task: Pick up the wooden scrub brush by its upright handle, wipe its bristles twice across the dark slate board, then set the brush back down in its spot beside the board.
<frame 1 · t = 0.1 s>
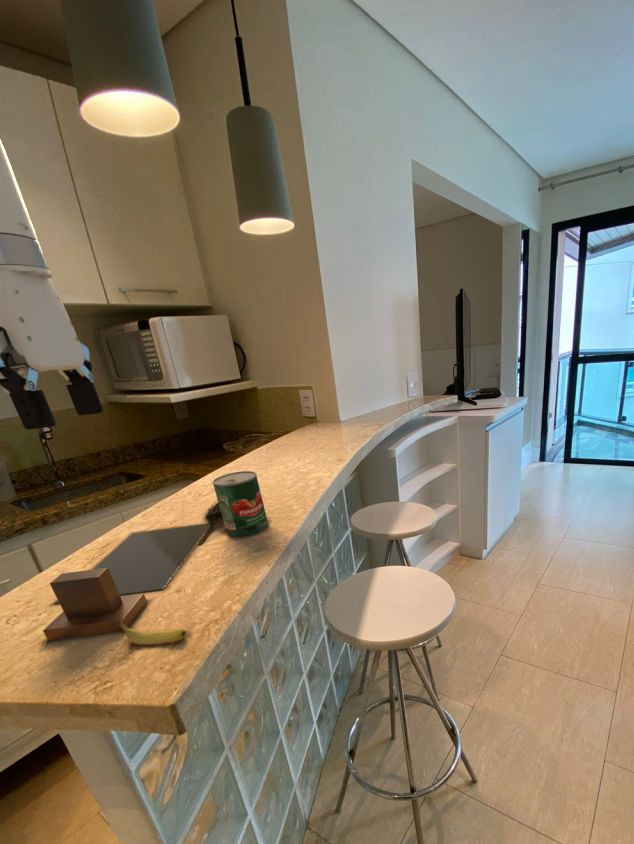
hand: (68, 420, 51), 26 cm above the counter, tool pointing down, fingers open, 9 cm apart
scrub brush: (102, 625, 55), on the counter
hairbrush: (229, 506, 94), on the counter
banana: (158, 646, 50), on the counter
canned tomato: (248, 531, 80), on the counter
slate board: (147, 561, 72), on the counter
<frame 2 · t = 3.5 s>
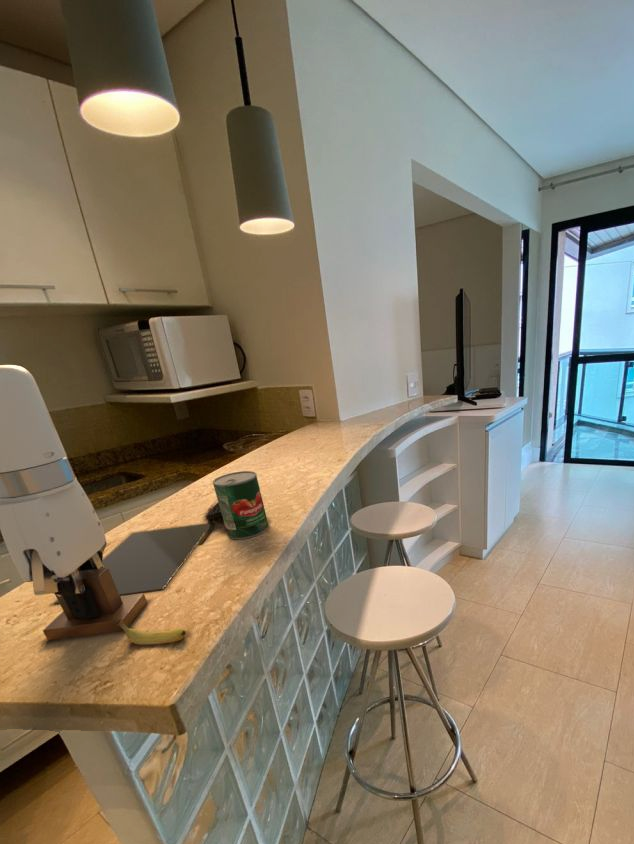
hand: (94, 608, 54), 3 cm above the counter, tool pointing down, fingers closed on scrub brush, 2 cm apart
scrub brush: (102, 625, 55), on the counter, touching gripper
everything else where it was.
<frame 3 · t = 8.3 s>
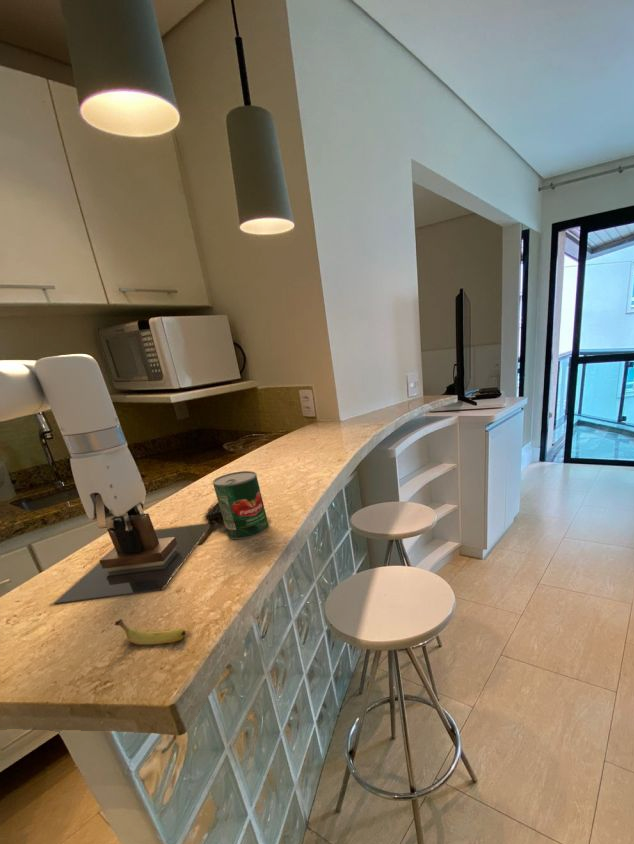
hand: (138, 546, 69), 4 cm above the counter, tool pointing down, fingers closed on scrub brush, 2 cm apart
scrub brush: (143, 560, 70), point 1 cm above the counter, touching gripper, slate board
everything else where it was.
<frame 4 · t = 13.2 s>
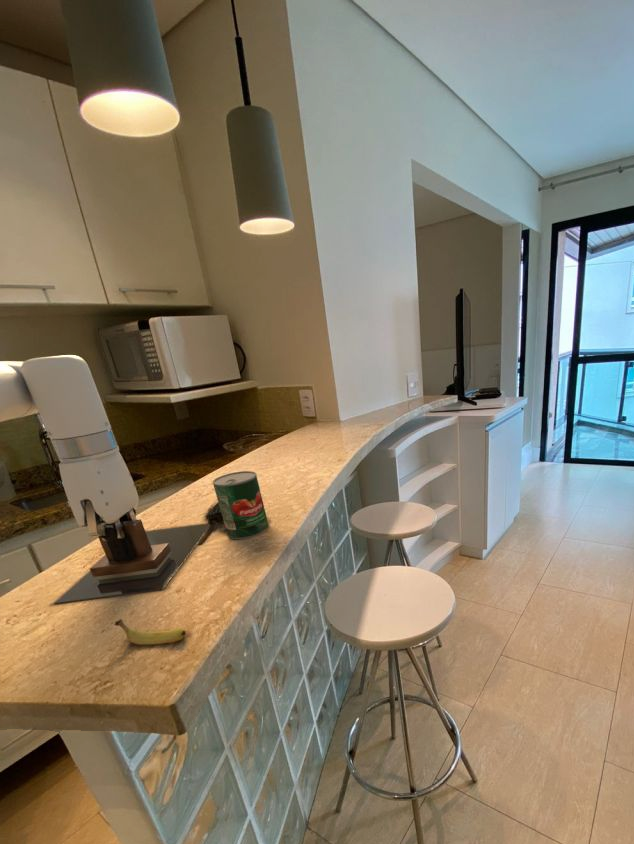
hand: (130, 554, 67), 4 cm above the counter, tool pointing down, fingers closed on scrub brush, 2 cm apart
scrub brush: (135, 567, 68), point 1 cm above the counter, touching gripper
everything else where it was.
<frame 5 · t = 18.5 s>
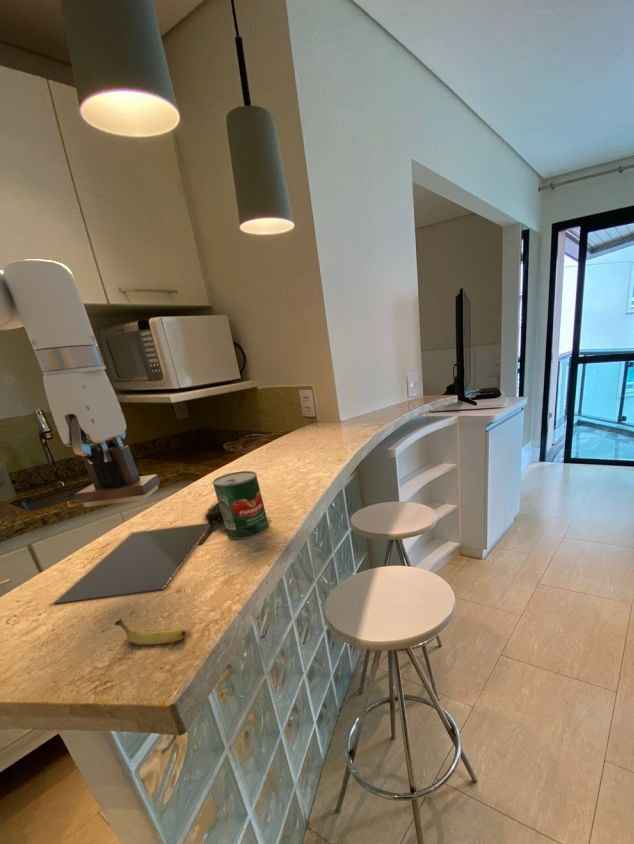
hand: (117, 482, 65), 15 cm above the counter, tool pointing down, fingers closed on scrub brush, 2 cm apart
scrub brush: (123, 497, 66), point 12 cm above the counter, touching gripper
everything else where it was.
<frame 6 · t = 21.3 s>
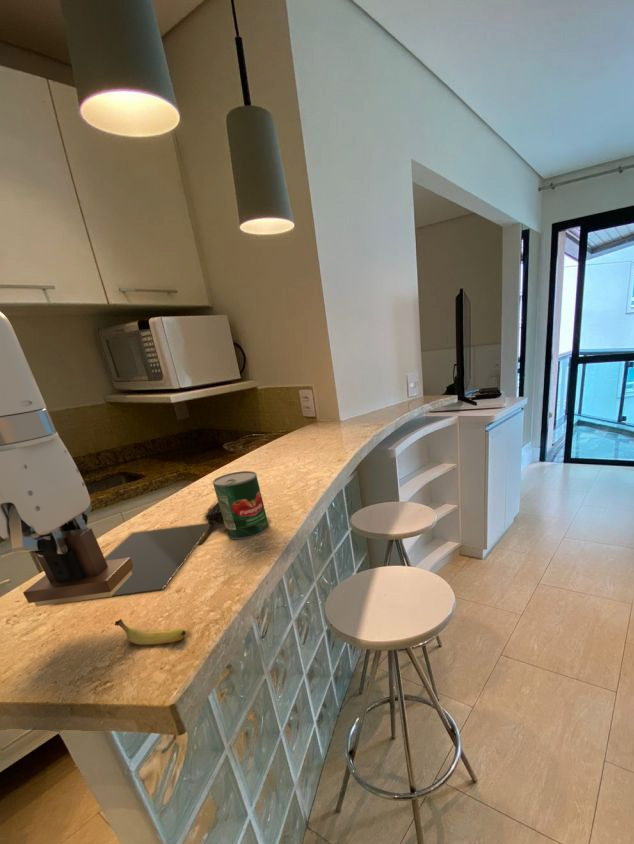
hand: (78, 572, 52), 8 cm above the counter, tool pointing down, fingers closed on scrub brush, 2 cm apart
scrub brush: (86, 589, 53), point 6 cm above the counter, touching gripper
everything else where it was.
when the fingers open (3 cm above the counter, at t = 23.0 s): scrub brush stays where it is, on the counter.
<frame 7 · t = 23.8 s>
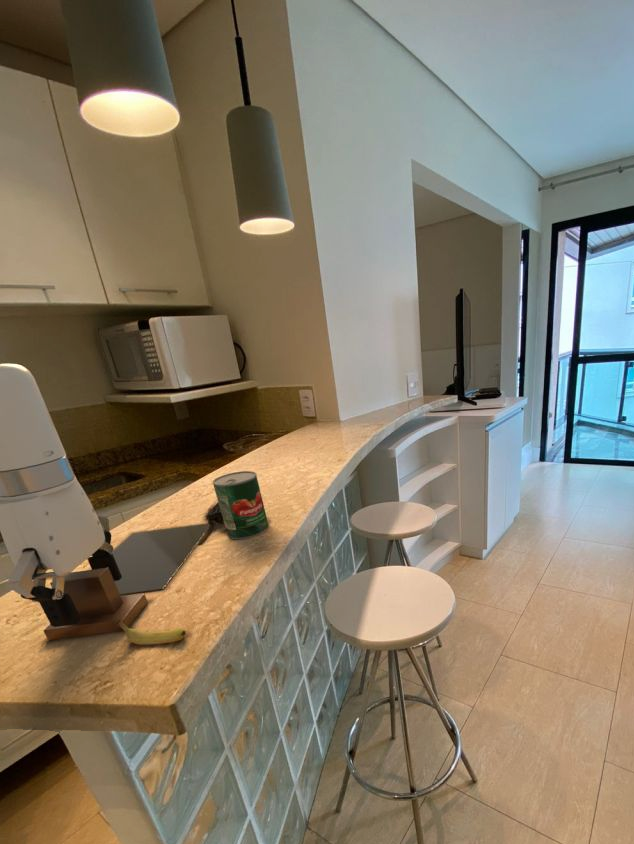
hand: (90, 600, 54), 4 cm above the counter, tool pointing down, fingers open, 9 cm apart
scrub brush: (103, 625, 55), on the counter
everything else where it was.
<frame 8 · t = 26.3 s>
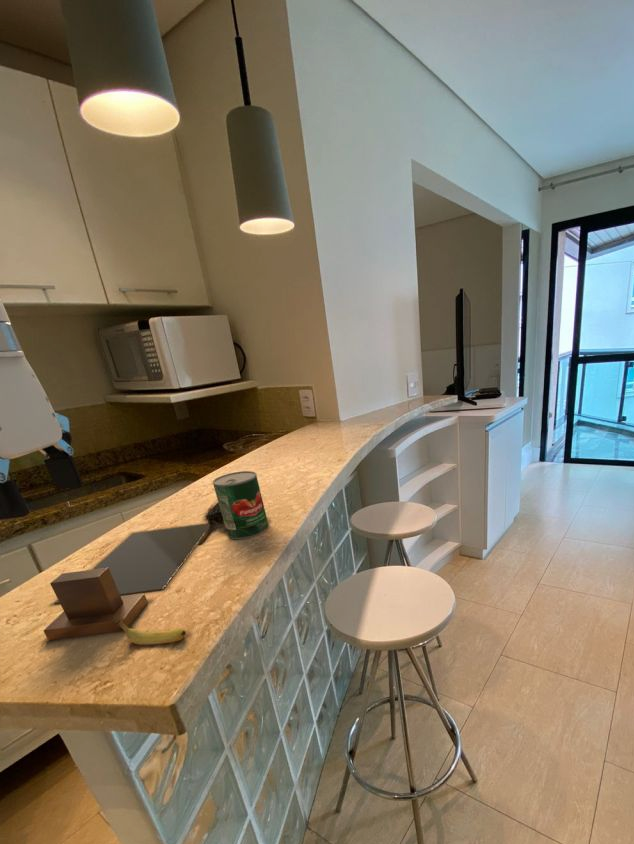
hand: (44, 500, 48), 18 cm above the counter, tool pointing down, fingers open, 9 cm apart
nothing on the counter moved.
at the end: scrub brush inside the target area (0.1 cm from its centre), on the counter; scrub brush tilted 0°; the gripper is holding nothing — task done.
